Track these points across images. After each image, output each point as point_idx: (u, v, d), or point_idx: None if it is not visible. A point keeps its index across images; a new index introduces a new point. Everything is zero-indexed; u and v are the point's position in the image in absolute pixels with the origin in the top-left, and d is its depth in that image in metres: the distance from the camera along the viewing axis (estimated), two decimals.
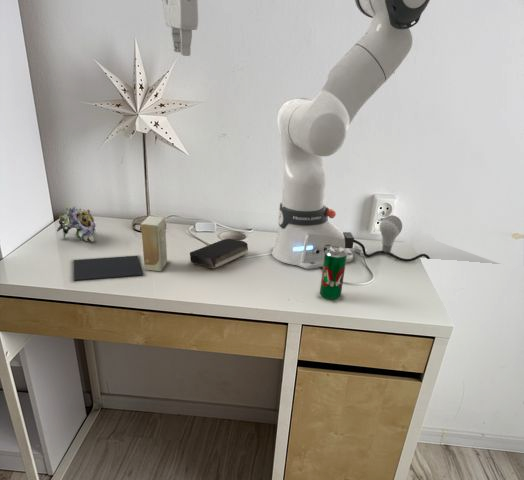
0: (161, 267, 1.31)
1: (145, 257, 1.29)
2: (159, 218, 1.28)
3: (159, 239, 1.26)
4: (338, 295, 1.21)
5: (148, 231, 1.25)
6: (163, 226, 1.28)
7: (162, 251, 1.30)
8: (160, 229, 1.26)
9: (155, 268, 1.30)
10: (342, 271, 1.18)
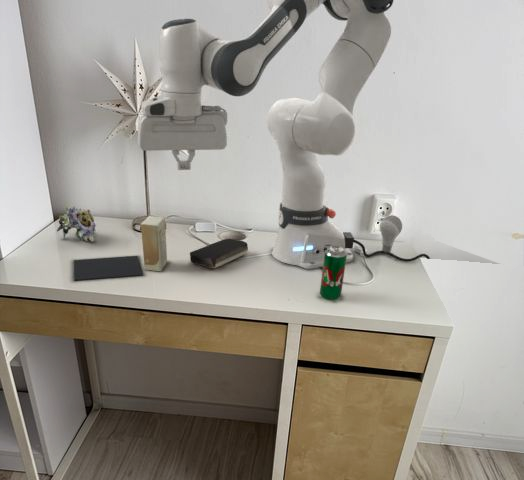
0: (161, 267, 1.31)
1: (145, 257, 1.29)
2: (159, 218, 1.28)
3: (159, 239, 1.26)
4: (338, 295, 1.21)
5: (148, 231, 1.25)
6: (163, 226, 1.28)
7: (162, 251, 1.30)
8: (160, 229, 1.26)
9: (155, 268, 1.30)
10: (342, 271, 1.18)
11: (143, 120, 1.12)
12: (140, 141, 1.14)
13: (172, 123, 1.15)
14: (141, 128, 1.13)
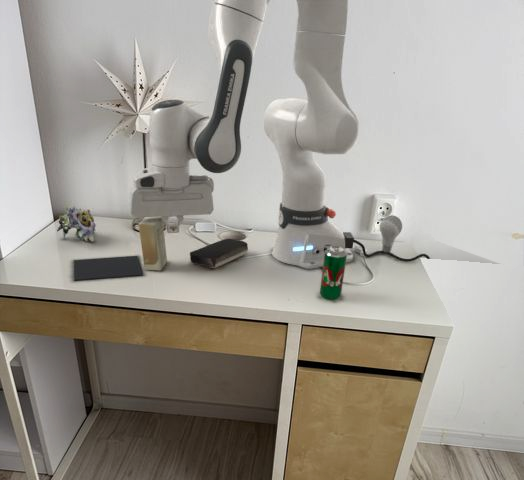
0: (161, 266, 1.31)
1: (144, 257, 1.29)
2: (156, 217, 1.28)
3: (157, 238, 1.26)
4: (338, 295, 1.21)
5: (146, 231, 1.25)
6: (161, 225, 1.28)
7: (161, 250, 1.30)
8: (158, 228, 1.26)
9: (155, 267, 1.30)
10: (342, 271, 1.18)
11: (134, 191, 1.19)
12: (131, 209, 1.22)
13: (162, 192, 1.22)
14: (132, 198, 1.20)
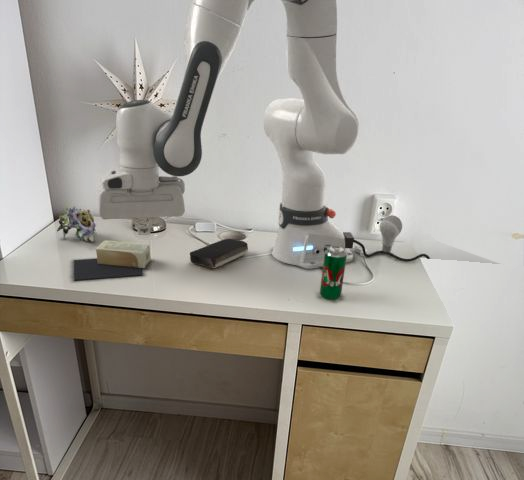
0: (141, 251, 1.29)
1: (130, 265, 1.31)
2: None
3: (111, 248, 1.29)
4: (338, 295, 1.21)
5: (103, 258, 1.30)
6: (108, 242, 1.33)
7: (128, 247, 1.31)
8: (105, 245, 1.31)
9: (140, 257, 1.29)
10: (342, 271, 1.18)
11: (102, 193, 1.17)
12: (100, 211, 1.20)
13: (131, 194, 1.20)
14: (100, 200, 1.18)
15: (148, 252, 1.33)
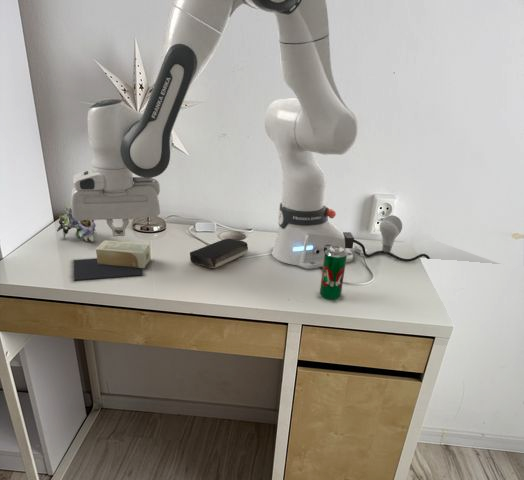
0: (141, 251, 1.29)
1: (130, 265, 1.31)
2: None
3: (111, 249, 1.29)
4: (338, 295, 1.21)
5: (103, 258, 1.30)
6: (108, 242, 1.33)
7: (128, 247, 1.31)
8: (105, 246, 1.31)
9: (140, 257, 1.29)
10: (342, 271, 1.18)
11: (74, 193, 1.16)
12: (72, 212, 1.18)
13: (104, 195, 1.18)
14: (73, 201, 1.16)
15: (148, 252, 1.33)
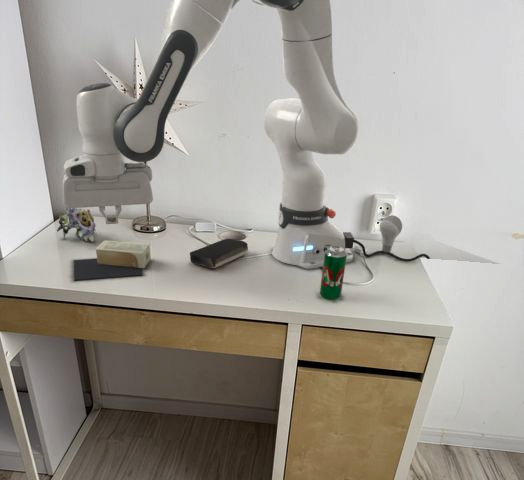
0: (141, 251, 1.29)
1: (130, 265, 1.31)
2: None
3: (111, 249, 1.29)
4: (338, 295, 1.21)
5: (103, 258, 1.30)
6: (108, 242, 1.33)
7: (128, 247, 1.31)
8: (105, 246, 1.31)
9: (140, 257, 1.29)
10: (342, 271, 1.18)
11: (65, 180, 1.14)
12: (64, 200, 1.17)
13: (95, 181, 1.17)
14: (64, 188, 1.15)
15: (148, 252, 1.33)
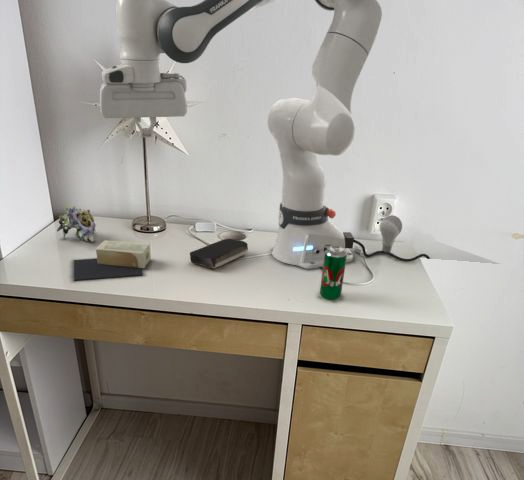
0: (141, 251, 1.29)
1: (130, 265, 1.31)
2: None
3: (111, 249, 1.29)
4: (338, 295, 1.21)
5: (103, 258, 1.30)
6: (108, 242, 1.33)
7: (128, 247, 1.31)
8: (105, 246, 1.31)
9: (140, 257, 1.29)
10: (342, 271, 1.18)
11: (103, 88, 1.16)
12: (102, 109, 1.19)
13: (132, 90, 1.19)
14: (102, 96, 1.17)
15: (148, 252, 1.33)
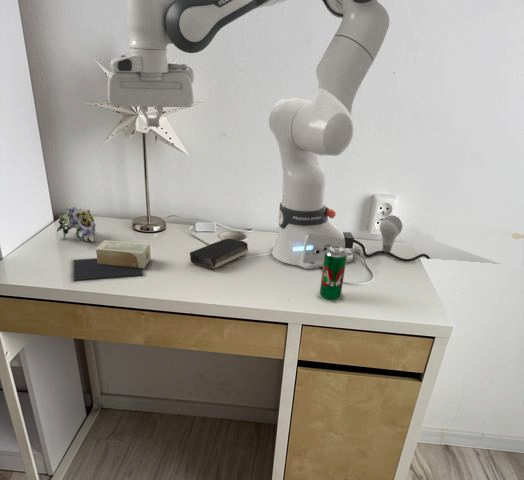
0: (141, 251, 1.29)
1: (130, 265, 1.31)
2: None
3: (111, 249, 1.29)
4: (338, 295, 1.21)
5: (103, 258, 1.30)
6: (108, 242, 1.33)
7: (128, 247, 1.31)
8: (105, 246, 1.31)
9: (140, 257, 1.29)
10: (342, 271, 1.18)
11: (111, 76, 1.18)
12: (109, 97, 1.20)
13: (140, 80, 1.21)
14: (110, 84, 1.19)
15: (148, 252, 1.33)
